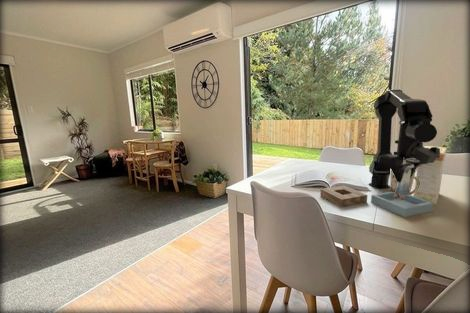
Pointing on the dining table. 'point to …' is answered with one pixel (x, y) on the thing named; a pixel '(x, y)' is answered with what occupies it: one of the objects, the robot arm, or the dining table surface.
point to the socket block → (343, 196)
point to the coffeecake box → (430, 178)
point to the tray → (402, 204)
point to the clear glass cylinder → (405, 180)
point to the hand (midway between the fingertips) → (403, 181)
